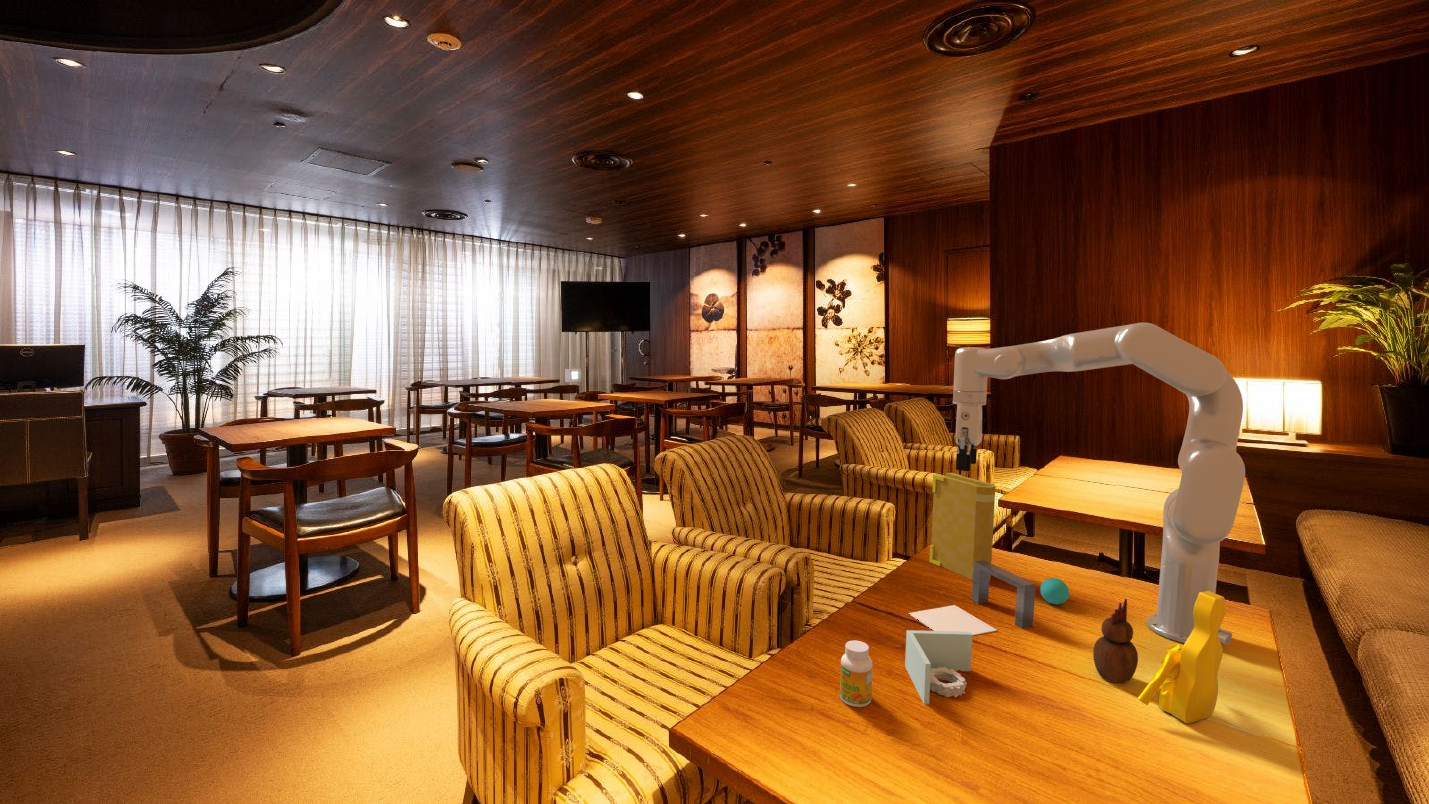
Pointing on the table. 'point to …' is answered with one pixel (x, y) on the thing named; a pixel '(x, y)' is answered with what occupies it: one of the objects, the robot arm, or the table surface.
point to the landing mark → (952, 620)
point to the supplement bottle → (856, 674)
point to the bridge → (1023, 586)
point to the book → (961, 523)
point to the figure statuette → (1192, 666)
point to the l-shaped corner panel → (938, 661)
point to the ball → (1054, 591)
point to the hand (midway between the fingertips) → (966, 466)
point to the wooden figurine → (1116, 648)
